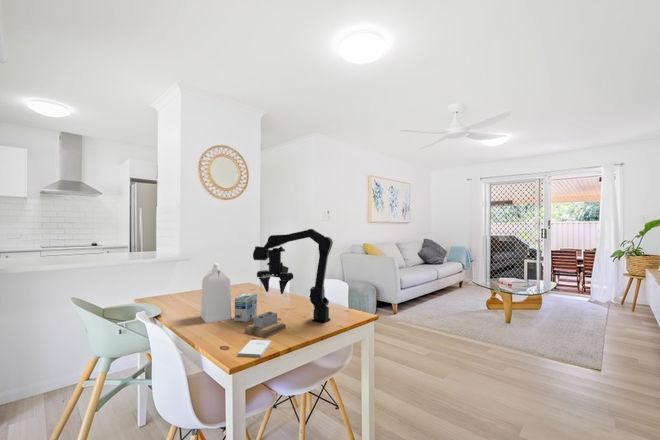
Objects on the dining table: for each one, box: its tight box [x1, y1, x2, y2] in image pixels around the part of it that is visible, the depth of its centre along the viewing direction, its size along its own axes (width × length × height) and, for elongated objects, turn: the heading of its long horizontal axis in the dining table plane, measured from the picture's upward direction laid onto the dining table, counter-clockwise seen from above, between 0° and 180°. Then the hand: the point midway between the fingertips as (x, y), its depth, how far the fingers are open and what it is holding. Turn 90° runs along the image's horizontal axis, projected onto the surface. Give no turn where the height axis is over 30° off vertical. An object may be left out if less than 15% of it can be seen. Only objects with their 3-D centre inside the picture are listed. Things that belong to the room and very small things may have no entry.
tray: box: [244, 321, 287, 339], centre depth 125 cm, size 12×12×2 cm
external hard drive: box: [237, 339, 272, 358], centre depth 106 cm, size 2×8×12 cm
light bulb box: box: [234, 293, 258, 323], centre depth 143 cm, size 11×7×11 cm, turn 169°
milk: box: [200, 262, 233, 324], centre depth 143 cm, size 12×12×26 cm
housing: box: [253, 311, 278, 329], centre depth 126 cm, size 9×5×5 cm, turn 150°
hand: (274, 292), depth 144 cm, fingers open, 9 cm apart
